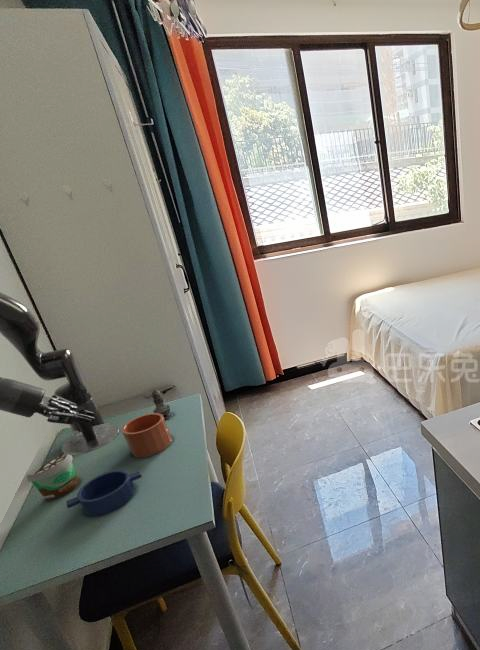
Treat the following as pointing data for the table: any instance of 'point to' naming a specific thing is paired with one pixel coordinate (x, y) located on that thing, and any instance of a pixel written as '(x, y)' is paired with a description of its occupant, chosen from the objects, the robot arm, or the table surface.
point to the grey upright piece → (161, 405)
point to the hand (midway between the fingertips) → (92, 419)
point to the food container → (55, 477)
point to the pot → (147, 435)
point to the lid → (89, 436)
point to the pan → (106, 492)
